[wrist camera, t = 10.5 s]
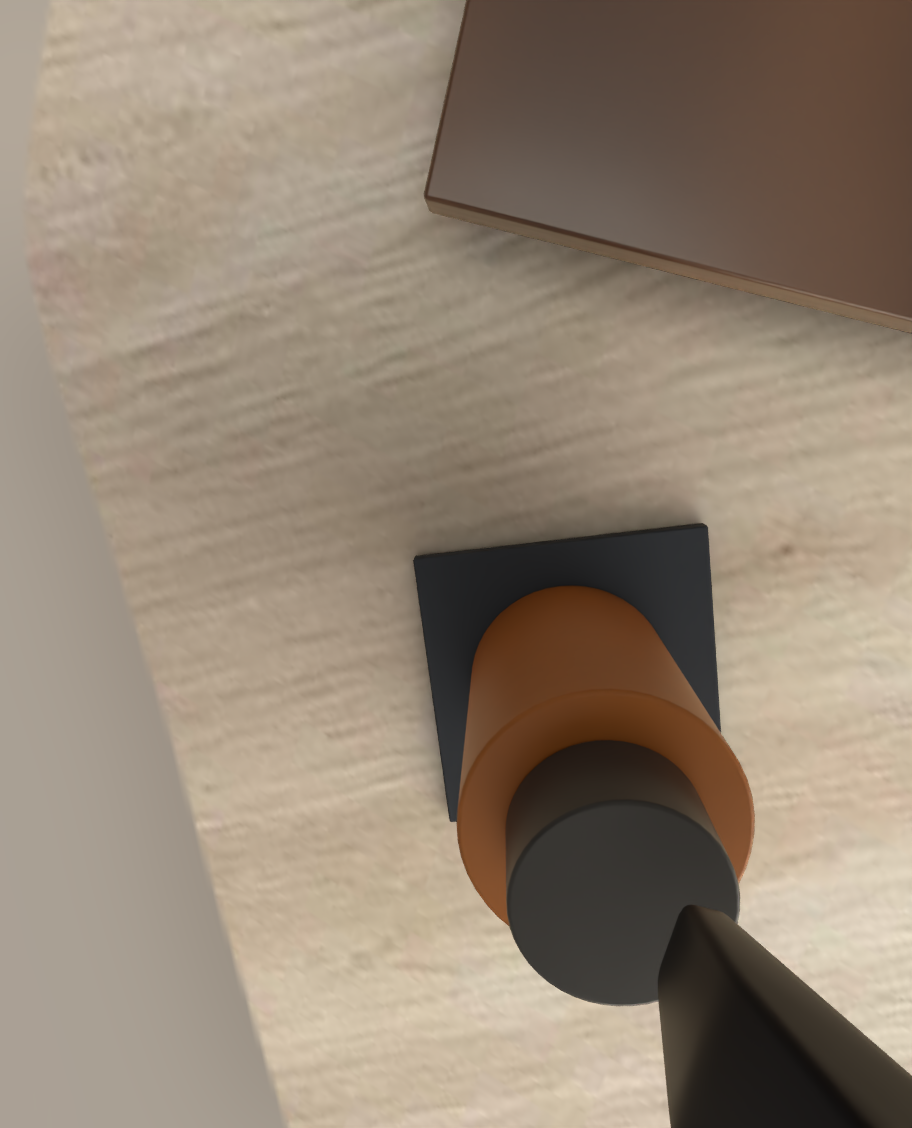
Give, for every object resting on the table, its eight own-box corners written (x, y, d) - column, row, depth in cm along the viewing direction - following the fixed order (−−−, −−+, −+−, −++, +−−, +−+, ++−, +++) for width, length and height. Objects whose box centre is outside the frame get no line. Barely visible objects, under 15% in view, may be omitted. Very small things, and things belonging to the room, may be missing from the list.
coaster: (450, 814, 21) (449, 822, 21) (414, 555, 20) (412, 559, 19) (721, 791, 21) (725, 798, 20) (703, 522, 19) (708, 525, 19)
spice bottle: (483, 777, 21) (470, 1066, 12) (460, 596, 20) (426, 762, 11) (674, 760, 20) (808, 1045, 11) (660, 574, 19) (794, 729, 10)
